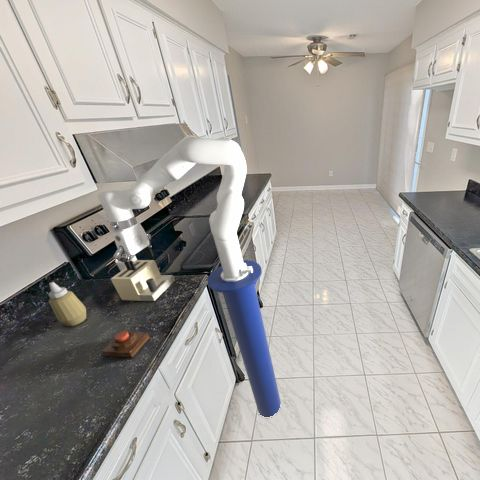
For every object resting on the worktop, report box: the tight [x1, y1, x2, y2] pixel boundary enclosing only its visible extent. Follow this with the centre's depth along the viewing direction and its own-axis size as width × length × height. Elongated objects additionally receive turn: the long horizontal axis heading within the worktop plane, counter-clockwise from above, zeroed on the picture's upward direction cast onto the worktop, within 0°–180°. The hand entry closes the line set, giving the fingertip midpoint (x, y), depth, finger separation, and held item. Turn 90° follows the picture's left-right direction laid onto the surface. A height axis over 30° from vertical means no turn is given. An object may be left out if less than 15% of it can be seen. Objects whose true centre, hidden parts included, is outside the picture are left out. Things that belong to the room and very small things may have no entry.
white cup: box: [114, 254, 138, 272], centre depth 120 cm, size 8×8×10 cm
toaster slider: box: [146, 278, 157, 292], centre depth 104 cm, size 3×3×5 cm
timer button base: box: [100, 329, 151, 358], centre depth 83 cm, size 10×8×4 cm
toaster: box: [110, 259, 176, 302], centre depth 109 cm, size 15×14×11 cm
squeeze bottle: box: [47, 281, 87, 327], centre depth 92 cm, size 8×8×18 cm
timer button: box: [113, 330, 130, 343], centre depth 82 cm, size 4×4×2 cm
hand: (141, 262), depth 100 cm, fingers open, 9 cm apart
